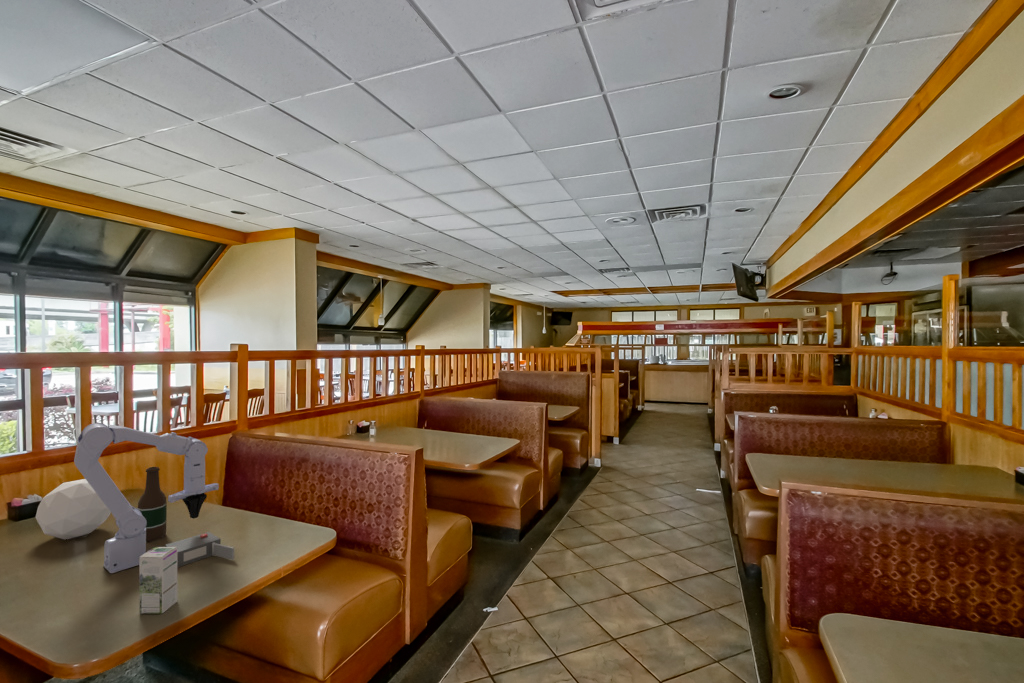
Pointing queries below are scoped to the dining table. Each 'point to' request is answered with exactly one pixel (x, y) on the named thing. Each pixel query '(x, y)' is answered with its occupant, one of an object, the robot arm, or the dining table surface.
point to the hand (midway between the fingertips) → (194, 517)
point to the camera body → (194, 548)
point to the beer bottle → (153, 506)
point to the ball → (71, 510)
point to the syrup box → (158, 580)
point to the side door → (223, 551)
